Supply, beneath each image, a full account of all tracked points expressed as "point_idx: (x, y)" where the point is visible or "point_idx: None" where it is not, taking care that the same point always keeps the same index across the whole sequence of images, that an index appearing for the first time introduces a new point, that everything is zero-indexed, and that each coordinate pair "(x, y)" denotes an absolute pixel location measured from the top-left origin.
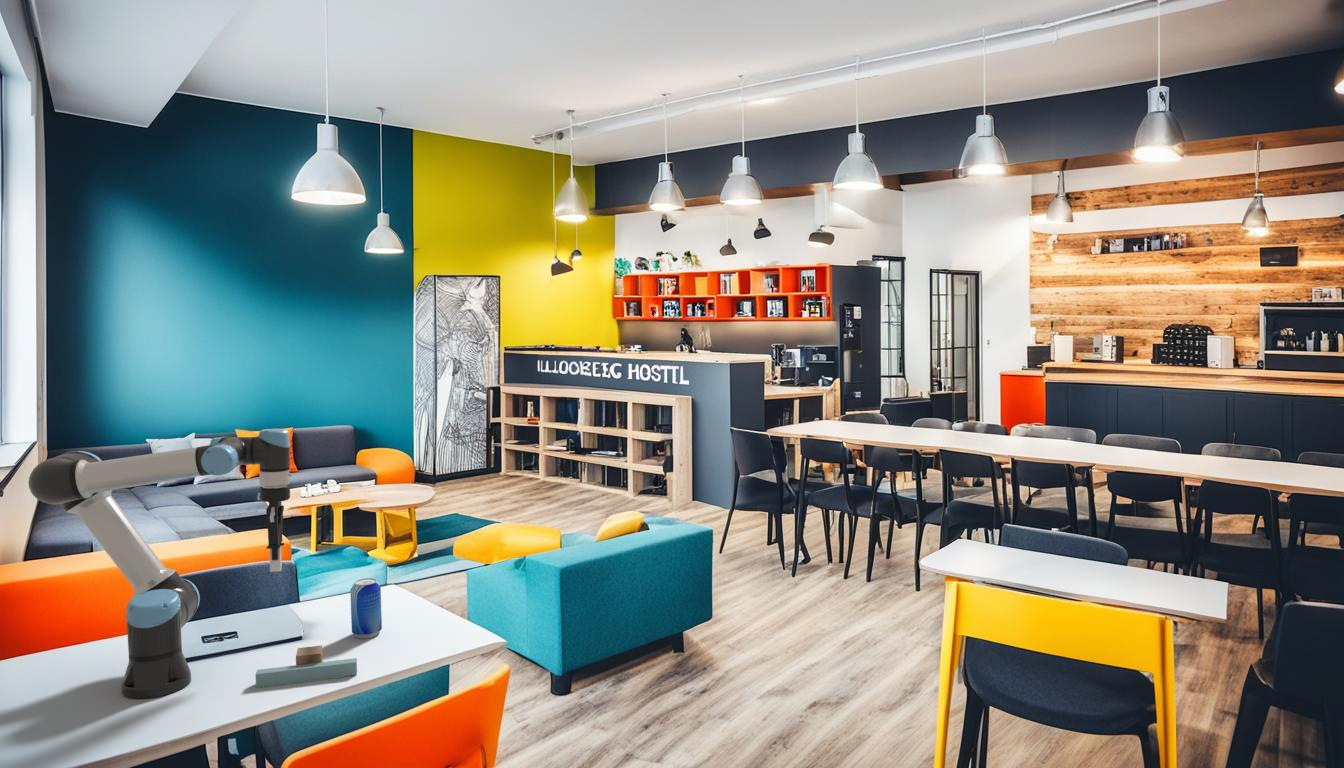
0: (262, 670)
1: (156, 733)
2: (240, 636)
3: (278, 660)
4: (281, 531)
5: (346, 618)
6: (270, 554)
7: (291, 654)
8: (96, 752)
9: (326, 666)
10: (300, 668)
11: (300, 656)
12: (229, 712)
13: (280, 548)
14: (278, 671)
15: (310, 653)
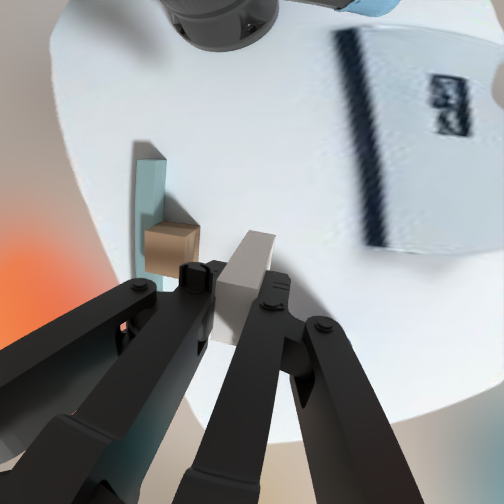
0: (148, 170)
1: (71, 63)
2: (440, 138)
3: (264, 194)
4: (301, 429)
5: (428, 326)
6: (227, 266)
7: (287, 219)
8: (62, 24)
9: (136, 270)
10: (136, 232)
11: (145, 238)
12: (85, 133)
13: (211, 337)
14: (135, 197)
15: (150, 255)
